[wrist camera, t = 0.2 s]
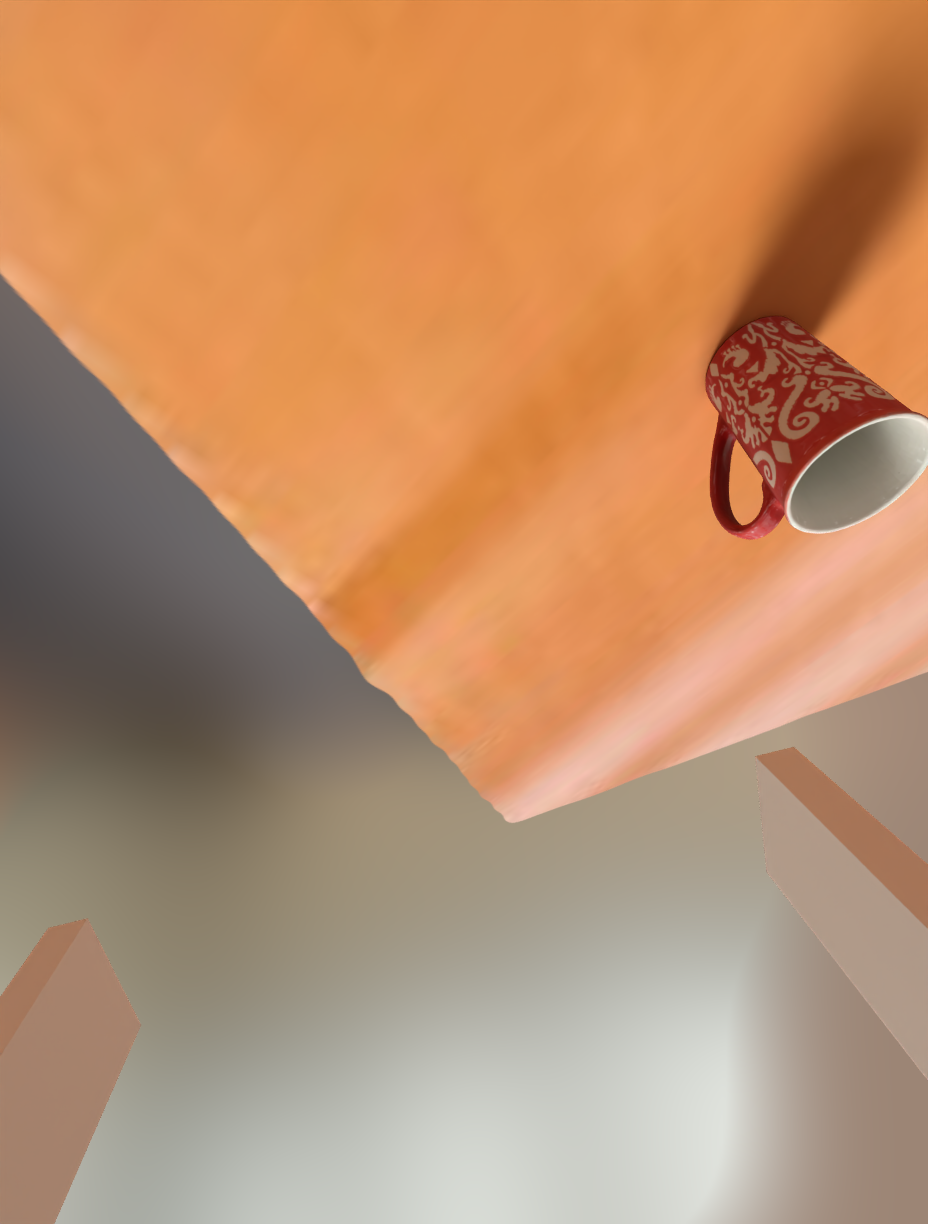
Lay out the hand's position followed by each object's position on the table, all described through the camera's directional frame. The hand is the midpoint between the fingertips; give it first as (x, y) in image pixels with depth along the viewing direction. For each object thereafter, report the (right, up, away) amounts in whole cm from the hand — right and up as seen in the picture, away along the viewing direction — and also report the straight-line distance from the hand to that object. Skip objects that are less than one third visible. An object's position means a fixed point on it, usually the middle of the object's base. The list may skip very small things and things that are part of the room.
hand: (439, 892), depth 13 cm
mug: (+20, +23, +36) cm, 47 cm away
